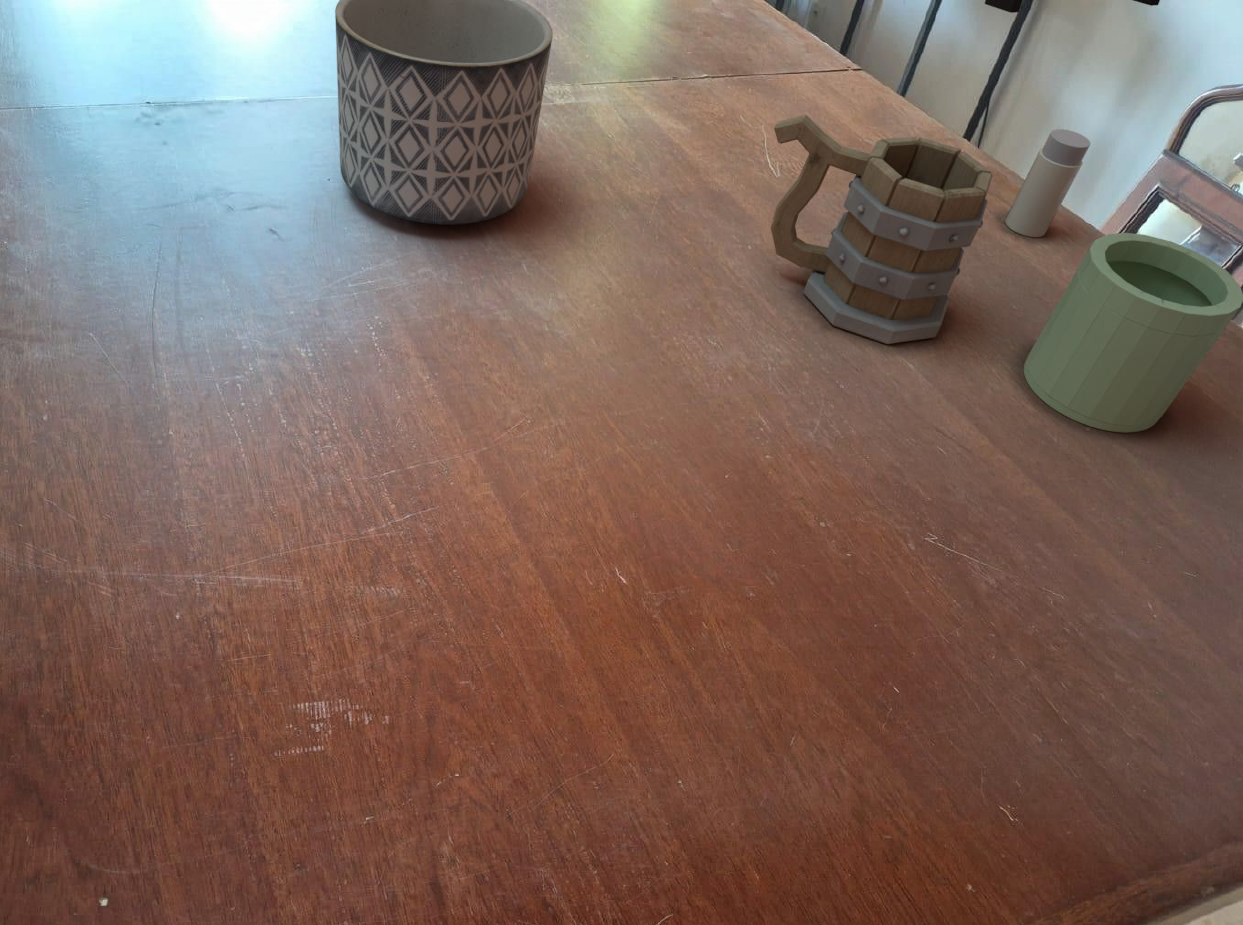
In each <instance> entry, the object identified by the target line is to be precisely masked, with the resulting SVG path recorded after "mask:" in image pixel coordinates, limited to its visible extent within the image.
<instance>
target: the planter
mask: <svg viewBox="0 0 1243 925" xmlns="http://www.w3.org/2000/svg"><path fill="white" fill-rule="evenodd" d="M334 14H335V15H334V16H335V47H336V49H335V50H336V76H337V78H336V79H337V107H338V109H337V110H338V135H339V136H338V138H339V139H338V140H339V141H338V142H339V167H340V174H341V177H342V179H343V181H344V183H345V185H346V187H347V188H348V189H349V190H350V191H351V192H352V193H353V195H354V196H356V197H357V198H358V199H359V200H361V202H364V203H365V204H367V206H370V207H372V208H374V209H376V210H377V211H380V212H383V213H385V214H387V215H390V216H392V217H395V218H400V219H403V220H407V221H413V222H417V223H421V224H422V223H423V224H432V225H467V224H473V223H479V222H484V221H488V220H491V219H494V218H498V217H499V216H501V215H504V214H506V213H508V212H509V211H511V210H512V209H514V208H515V207H517V205H518V204H519V203H520V202H521V201H522V200H523V199H524V197H525V195H526V193H527V190H528V188H529V183H530V176H531V169H532V166H533V165H532V164H533V159H534V152H535V146H536V141H537V135H538V127H539V121H540V116H541V109H542V102H543V97H544V93H545V92H544V89H545V85H546V84H545V83H546V79H547V73H548V66H549V60H550V55H551V54H550V53H551V48H552V42H553V35H554V34H553V28H552V25H551V24H550V22H549V20H548V19H547V18H546V17H545V16H544V14H542V13H541V12H540V11H539V10H538V9H536V8H535V7H533V6H532V5H530V4H529V3H527V2H525V1H524V0H338V2H337V3H336V6H335V9H334Z"/></svg>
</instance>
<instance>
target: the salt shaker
mask: <svg viewBox="0 0 1243 925" xmlns="http://www.w3.org/2000/svg"><path fill="white" fill-rule="evenodd" d="M1090 146H1091V140H1089V139H1088V138H1087V137H1086V136H1084V135H1083V134H1081V133H1079V132H1077V131H1076V132H1075V131H1073V130H1069V129H1062V128H1056V129H1053V130H1051V131H1050V133H1049V135H1048V137H1047V139H1046V141H1045V143H1044V145H1043V147H1041V148H1040V149H1039V151H1038V153H1037V154H1036V157H1035V159H1034V161H1033V162H1032V165H1031V166H1030V169H1029V171H1028V173H1027V175H1026V177H1025V178H1024V181H1023V183H1022V185H1021V187H1020V189H1019V191H1018V193H1017V195H1016V197H1015V200H1014V201H1013V203H1012V205H1011V207H1010V209H1009V211H1008V213H1007V215H1006V217H1005V219H1004V222H1005V225H1006V227H1008V229H1010V230H1011V231H1013V232H1015V233H1017V234H1019V235H1021V236H1025V237H1029V238H1030V237H1031V238H1040V237H1041V238H1042V237H1043V236H1045V235H1046V234H1047V231H1048V230H1049V228H1050V226H1051V224H1052V223H1053V220H1054V218H1055V217H1056V215H1057V213H1058V211H1059V209H1060V207H1061V205H1062V203H1063V202H1064V199H1066V196H1067V195H1068V192H1069V190H1070V189H1071V186H1072V184H1073V183H1074V181H1075V179H1076V177H1077V176H1078V173H1079V171H1080V170H1081V168H1082V166H1083V163H1084V162H1083V160H1084V158H1085V156H1086V154H1087V152H1088V150H1089V149H1090Z"/></svg>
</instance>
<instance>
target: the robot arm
mask: <svg viewBox="0 0 1243 925" xmlns="http://www.w3.org/2000/svg"><path fill="white" fill-rule="evenodd" d="M1023 1H1024V0H984V5H987V6H989V7H993V8H995V9H999V10H1001V11H1004V12H1007V13H1010V14H1012V13H1013V14H1014V13H1020V11H1021V7H1022V4H1023ZM1132 1H1134V2H1137V3H1141V4H1144V5H1147V6H1151V7H1152V6H1159V4H1160V2H1161V0H1132Z"/></svg>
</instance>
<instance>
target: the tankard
mask: <svg viewBox="0 0 1243 925" xmlns="http://www.w3.org/2000/svg"><path fill="white" fill-rule="evenodd" d="M773 129H774V133H775V137H776V140H777V143H778V144H780V145H782V144H786V143H790V142H793V141H796V140H797V141H798V142H799V144H800V145H801V146H802V147H803V148H804V149H805V150H806V152H807V153H808V155H807V158H806V160H805V162H804V164H803V166H802V169H801V171H800V173H799V175H798V178H797V179H796V181H795V182H794V183H793V184H792V186H790V188H789V189H788V190H787V192H786V193H785V194H784V195H783V197H782V198H781V199H780V200H779V201H778V203H777V205H776V207H775V209H774V210H775V211H774V215H773V218H772V222H771V225H770V231H771V236H772V238H773V239H772V240H773V245H774V249H775V254H776V255H777V256H779V257H781V258H783V259H785V260H786V261H789V262H791V263H793V264H794V265H796V266H798V267H802V268H805V269H809V270H811V273H810V276H809V277H808V279H807V281H806V284H805V286H804V289H803V294H804V295H805V297H807V299H808V300H809V301H810V302H811V303H812V304H813V305H814V306H815V307H816V309H817V310H819V312H820V313H821V315H823V317H825V318H826V319H827V321H828V322H829V323H830V324H831V325H832V326H833V327H836V328H837V329H838V328H839V329H842V330H844V331H846V332H847V331H848V332H851V333H853V334H856V335H859V336H862V337H865V338H868V339H871V340H874V341H877V342H880V343H883V344H885V345H890V344H897V343H904V342H912V341H918V340H919V341H920V340H926V339H934V338H936V337H937V335H938V332H939V331H940V329H941V327H942V324H943V321H944V318H945V315H946V311H947V308H948V305H949V302H950V299H951V298H950V297H949V295H948V294H949V291H950V289H951V287H952V285H953V284H954V281H955V279H956V277H957V276H959V275H960V273H961V268H960V266H961V262H962V259H963V257H964V252H965V250H964V249H963V248H967V247H971V245H972V243H973V242H974V239H975V237H976V235H977V233H978V230H979V229H980V228H982V227H983V226H984V221H983V217H984V215H985V211H986V208H987V205H988V200H987V199H986V198H987V195H988V193H989V189H990V186H991V182H992V179H993V174H992V172H991V171H990V170H989V169H988V168H987V167H986V166H984V165H983V164H981V163H980V162H979V161H978V160H976V159H975V158H974V157H972V156H971V155H970V154H969V153H968V152H966V151H965V150H964V151H962V149H961V148H957V147H954V146H951V145H947V144H944V143H941V142H938V141H934V140H930V139H928V138H924V137H919V138H918V137H917V136H905V137H891V138H890V137H889V138H881V139H878V140H877V141H876V142H875V145H874V146H873V148H872V150H871V152H870V153H866V152H864V151H861V150H856V149H854V148H849V147H846V146H842V145H841V144H840V143H838V142H837V141H836V140H834V138H832V137H831V136H830V135H828V134H827V133H826V132H825V131H823V129H821V128H820V127H819V126H818V124H816V123H815V122H814V120H812V119H811V118H810V117H809V116H808V115H807V114H804V115H799V116H796V117H791V118H788V119H784V120H780V121H777V123H776V124H775V125H774V127H773ZM830 167H833V168H836V169H839V170H841V171H844V172H848V173H850V174H853V175H855V176H854V178H853V180H851V181H850V182H849V183H848V188H849V189H848V192H847V195H846V197H845V200H844V202H843V205H842V206H843V208H844V209H845V210H846V211H845V212H843V213H842V216H841V217H840V220H839V221H838V223H837V225H836V227H835V228H832V230H831V231H830V235H831V238H830V241H829V242H828V243H829V244H828V246H821V245H816V244H810V243H807V242H805V241H803V240H802V239H800V238H799V237H798V235H797V234H798V233H797V229H796V226H797V225H796V224H797V221H798V217H799V215H800V213H801V212H802V211H803V210H804V208H805V207H806V206H807V205H808V204H809V203H810V201H811V200H812V199H813V198H814V197H815V195H816V194H817V193H818V192H819V189H820V188H821V186H822V184H823V181H824V180H825V177H826V175H827V173H828V171H829V169H830Z"/></svg>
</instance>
